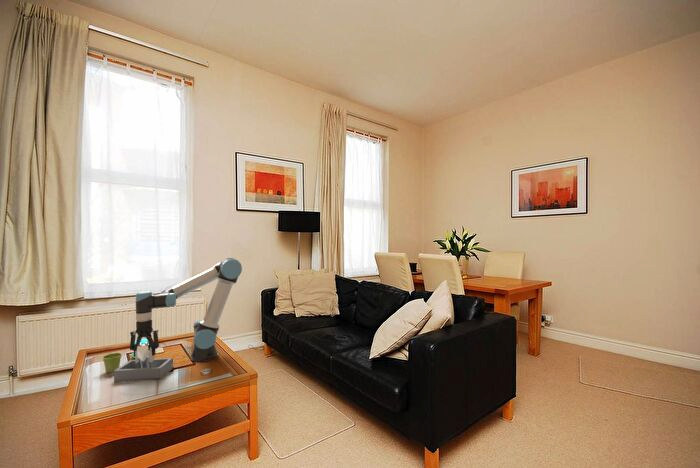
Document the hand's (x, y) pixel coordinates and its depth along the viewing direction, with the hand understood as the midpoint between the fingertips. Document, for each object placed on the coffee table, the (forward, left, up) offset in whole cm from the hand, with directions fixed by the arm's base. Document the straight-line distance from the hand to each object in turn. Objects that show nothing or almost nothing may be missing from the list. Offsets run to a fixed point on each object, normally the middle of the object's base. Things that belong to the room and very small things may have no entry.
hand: (144, 361), depth 182 cm
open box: (0, 0, -7) cm, 7 cm away
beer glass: (0, 0, -6) cm, 6 cm away
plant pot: (+22, -9, -8) cm, 25 cm away
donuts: (+18, -31, -8) cm, 37 cm away
